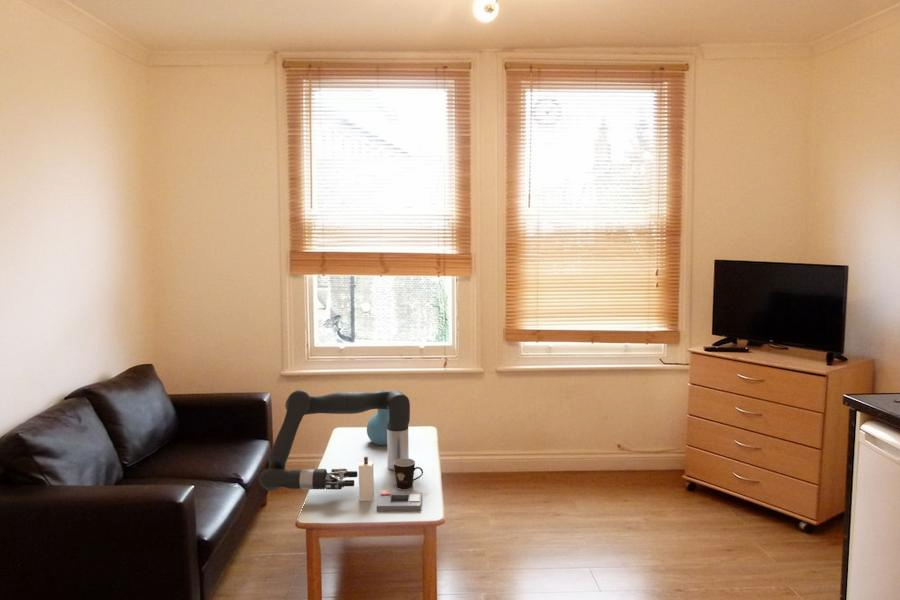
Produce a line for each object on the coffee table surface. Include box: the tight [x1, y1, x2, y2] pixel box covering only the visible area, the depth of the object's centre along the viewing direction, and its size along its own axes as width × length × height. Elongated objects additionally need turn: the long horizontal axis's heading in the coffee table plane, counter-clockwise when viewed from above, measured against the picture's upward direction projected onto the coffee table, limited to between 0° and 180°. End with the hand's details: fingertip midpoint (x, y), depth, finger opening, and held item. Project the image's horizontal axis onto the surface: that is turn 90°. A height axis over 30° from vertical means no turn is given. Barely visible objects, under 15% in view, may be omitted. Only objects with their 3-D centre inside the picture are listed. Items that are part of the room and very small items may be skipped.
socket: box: [376, 490, 422, 512], centre depth 230 cm, size 12×16×3 cm
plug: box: [358, 456, 375, 502], centre depth 234 cm, size 4×5×16 cm
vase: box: [366, 390, 389, 446], centre depth 297 cm, size 16×16×25 cm
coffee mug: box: [393, 458, 424, 491], centre depth 245 cm, size 12×9×10 cm
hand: (355, 478), depth 234 cm, fingers open, 8 cm apart
